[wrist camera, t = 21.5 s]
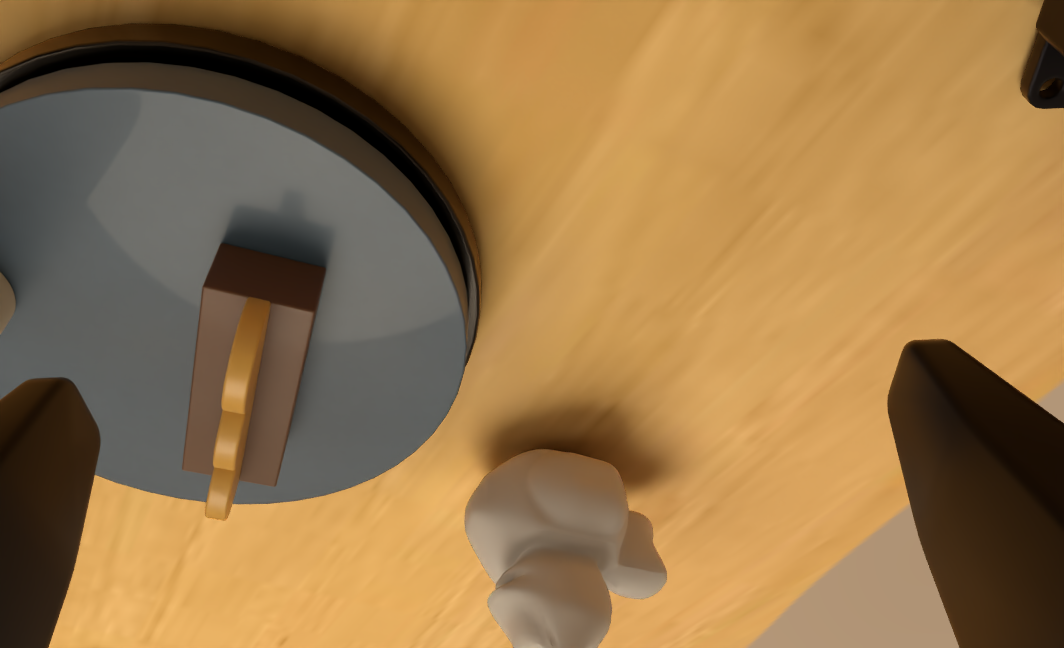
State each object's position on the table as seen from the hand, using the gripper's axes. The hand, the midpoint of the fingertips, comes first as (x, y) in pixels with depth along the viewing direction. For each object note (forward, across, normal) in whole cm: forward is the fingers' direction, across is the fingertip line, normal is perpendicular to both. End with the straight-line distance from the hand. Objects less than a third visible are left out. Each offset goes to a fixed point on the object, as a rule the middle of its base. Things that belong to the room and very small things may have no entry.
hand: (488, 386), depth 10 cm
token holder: (+11, +8, +8) cm, 15 cm away
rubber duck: (+12, -1, +17) cm, 21 cm away
